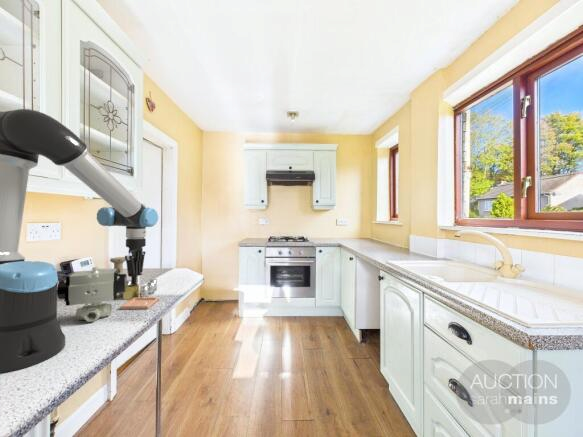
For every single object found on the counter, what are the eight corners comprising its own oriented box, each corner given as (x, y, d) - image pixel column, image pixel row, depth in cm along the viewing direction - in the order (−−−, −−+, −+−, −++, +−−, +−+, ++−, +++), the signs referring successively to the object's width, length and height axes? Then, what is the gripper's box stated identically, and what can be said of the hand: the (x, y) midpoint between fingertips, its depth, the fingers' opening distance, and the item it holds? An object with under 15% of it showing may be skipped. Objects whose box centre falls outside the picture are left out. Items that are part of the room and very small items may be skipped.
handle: (127, 289, 118) (127, 258, 118) (110, 292, 113) (110, 259, 113) (125, 287, 121) (125, 256, 121) (109, 289, 117) (109, 258, 117)
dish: (147, 309, 95) (147, 306, 95) (120, 309, 94) (120, 306, 94) (159, 300, 105) (159, 297, 105) (134, 300, 104) (134, 297, 104)
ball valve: (54, 329, 78) (55, 272, 77) (64, 318, 85) (64, 267, 85) (123, 318, 86) (124, 268, 86) (126, 310, 94) (127, 263, 93)
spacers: (144, 300, 104) (144, 288, 104) (106, 300, 103) (106, 288, 103) (159, 289, 119) (160, 279, 119) (127, 289, 118) (127, 279, 118)
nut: (135, 299, 105) (135, 287, 105) (119, 299, 105) (119, 287, 104) (142, 294, 111) (142, 283, 110) (127, 295, 110) (127, 283, 110)
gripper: (137, 239, 104) (136, 295, 105) (151, 236, 117) (150, 286, 118) (118, 239, 104) (117, 295, 104) (134, 236, 117) (134, 286, 117)
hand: (135, 290), depth 111 cm, fingers closed
